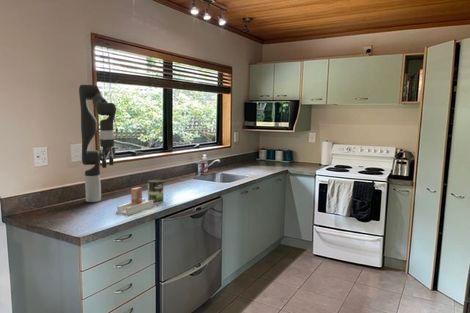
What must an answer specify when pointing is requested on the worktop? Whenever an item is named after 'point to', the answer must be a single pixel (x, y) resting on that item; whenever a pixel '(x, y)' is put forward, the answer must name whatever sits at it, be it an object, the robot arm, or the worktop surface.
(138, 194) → the wooden card
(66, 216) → the worktop surface
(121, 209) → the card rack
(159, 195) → the coffee can
